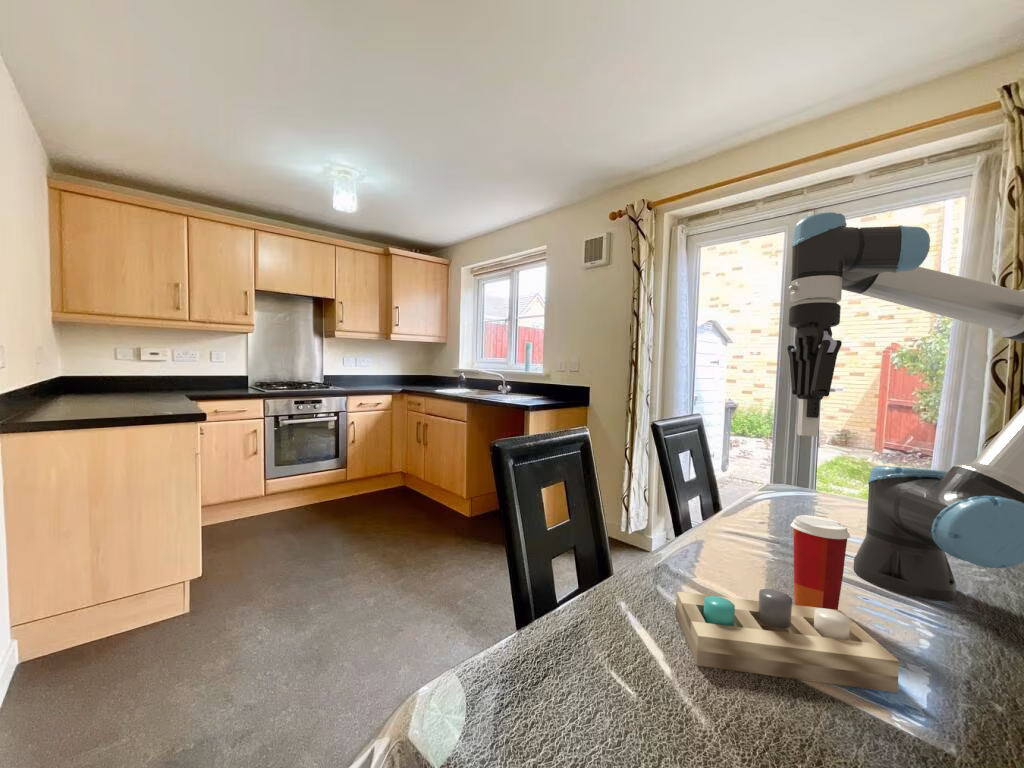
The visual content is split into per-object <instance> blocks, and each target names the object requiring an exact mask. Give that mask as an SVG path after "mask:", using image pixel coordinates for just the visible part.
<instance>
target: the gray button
mask: <svg viewBox="0 0 1024 768" xmlns="http://www.w3.org/2000/svg"><path fill="white" fill-rule="evenodd" d="M758 592H759V593H758V595H759V596H758V601H759V608H758V617H759V619H760V620H762V621H763V622H764V623H766V624H768V625H771V626H774V627H778V628H789V627H790V626H791V612H792V605H793V598H792V597H791V596H790V595H788V594H786V593H784V592H781V591H780V590H775V589H772V588H771V589H770V588H762V589H759V591H758Z"/></svg>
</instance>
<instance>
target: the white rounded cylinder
mask: <svg viewBox="0 0 1024 768" xmlns="http://www.w3.org/2000/svg"><path fill="white" fill-rule="evenodd" d="M845 615H846V614H845ZM845 615H843V614H841V613H839V612H836V611H833V610H830V609H825V608H817V609H815V614H814V629H815V630H816V631H817V632H818V633H819V634H820V635H821V636H822V637H825V638H834V639H842V640H849V634H850V620H849V618H850V617H849V616H847V615H846V616H847V617H846V616H845ZM848 617H849V618H848Z"/></svg>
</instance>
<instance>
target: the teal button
mask: <svg viewBox="0 0 1024 768" xmlns="http://www.w3.org/2000/svg"><path fill="white" fill-rule="evenodd" d="M718 596H719V595H718ZM718 596H716V595H710V596H707V597H705V599H704V616H703V618H704V620H705V622H706V623H710V624H719V625H727V626H734V614H735V605H734V604H733V603H732V602H731V601H729V600H727V599H725V598H722V597H723V596H719V597H718Z"/></svg>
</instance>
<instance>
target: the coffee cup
mask: <svg viewBox="0 0 1024 768" xmlns="http://www.w3.org/2000/svg"><path fill="white" fill-rule="evenodd" d="M790 527H791V528H793V531H792V534H793V537H792V538H793V585H794V586H793V593H794V594H793V595H794V605H799V606H808V607H817V608H825V609H834V610H839V604H840V598H841V590H842V583H843V577H844V569H845V562H846V561H845V559H846V553H847V552H846V551H847V545H848V539H850V538H851V535H850V533H849V532H848V527H846V526H845V525H844V524H842V523H841V522H840V521H836V520H833V519H831V518H825V517H821V516H815V515H808V514H807V515H806V514H805V515H803V514H801V515H797V516H795V517H794V519H792V522H791V524H790Z"/></svg>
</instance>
